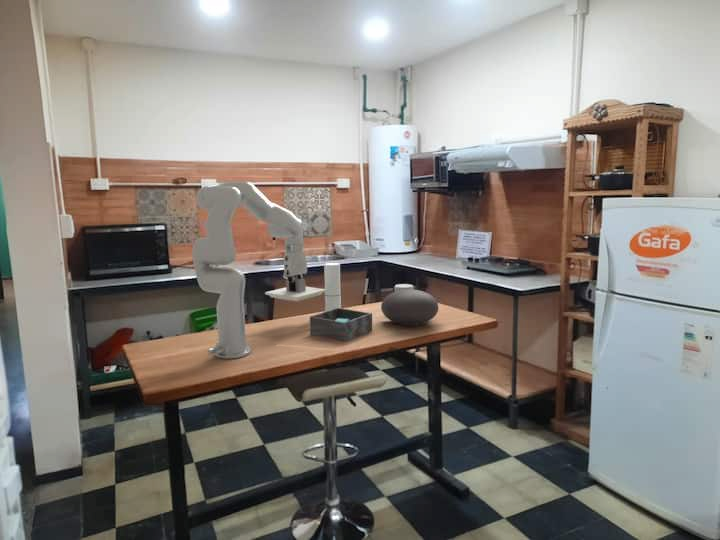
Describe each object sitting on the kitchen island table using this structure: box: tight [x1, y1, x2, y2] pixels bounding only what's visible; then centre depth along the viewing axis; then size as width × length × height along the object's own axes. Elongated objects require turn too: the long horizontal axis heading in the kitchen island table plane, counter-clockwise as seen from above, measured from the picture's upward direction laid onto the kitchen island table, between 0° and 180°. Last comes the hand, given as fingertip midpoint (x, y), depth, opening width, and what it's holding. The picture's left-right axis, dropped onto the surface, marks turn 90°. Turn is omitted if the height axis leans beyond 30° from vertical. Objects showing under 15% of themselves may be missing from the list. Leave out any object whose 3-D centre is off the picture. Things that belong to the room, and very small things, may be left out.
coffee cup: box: [393, 283, 415, 292], centre depth 238 cm, size 9×9×12 cm
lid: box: [264, 277, 327, 302], centre depth 211 cm, size 19×19×7 cm
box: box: [309, 307, 373, 342], centre depth 199 cm, size 18×18×8 cm
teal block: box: [335, 318, 349, 322], centre depth 199 cm, size 5×5×5 cm
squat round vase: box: [380, 288, 439, 326], centre depth 213 cm, size 25×25×15 cm
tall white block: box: [323, 262, 342, 312], centre depth 225 cm, size 7×7×25 cm
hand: (296, 289), depth 211 cm, fingers closed on lid, 3 cm apart
